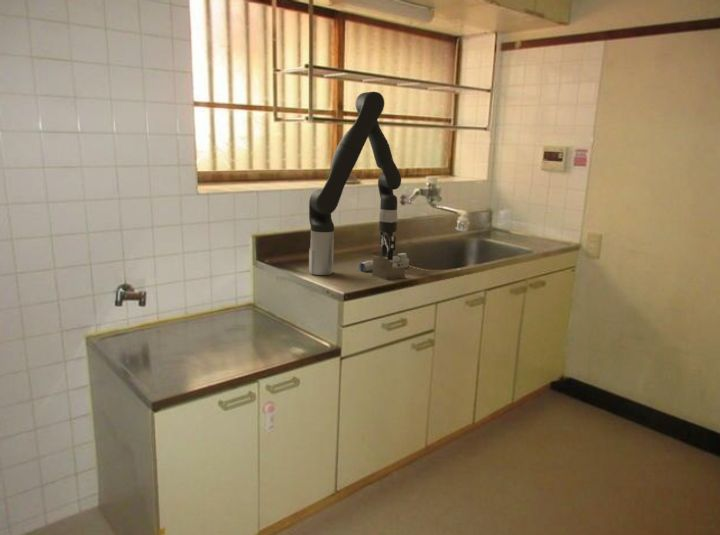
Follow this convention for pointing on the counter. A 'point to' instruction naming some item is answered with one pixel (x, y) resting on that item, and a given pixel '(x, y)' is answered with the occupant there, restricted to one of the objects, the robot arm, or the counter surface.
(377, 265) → the cup bracket
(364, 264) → the grey piece
